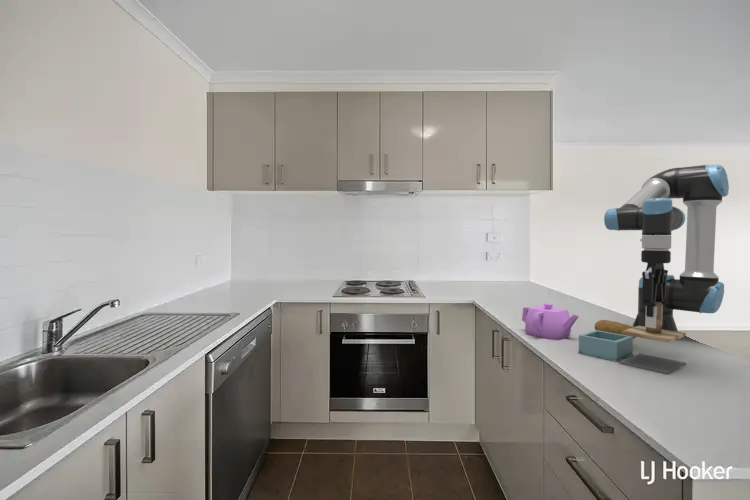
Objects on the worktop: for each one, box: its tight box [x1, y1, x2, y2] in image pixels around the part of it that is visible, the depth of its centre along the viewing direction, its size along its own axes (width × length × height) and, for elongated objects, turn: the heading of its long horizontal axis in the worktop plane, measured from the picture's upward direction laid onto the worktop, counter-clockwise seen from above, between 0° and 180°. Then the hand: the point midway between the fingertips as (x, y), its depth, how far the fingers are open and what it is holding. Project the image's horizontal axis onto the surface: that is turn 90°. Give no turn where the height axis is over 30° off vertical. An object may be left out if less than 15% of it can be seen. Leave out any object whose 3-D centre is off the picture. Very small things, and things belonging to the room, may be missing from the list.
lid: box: [621, 302, 687, 344], centre depth 134 cm, size 13×13×10 cm
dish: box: [578, 329, 634, 362], centre depth 145 cm, size 12×12×6 cm
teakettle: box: [521, 302, 580, 341], centre depth 172 cm, size 17×17×12 cm
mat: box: [619, 352, 687, 375], centre depth 134 cm, size 15×13×1 cm
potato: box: [594, 319, 636, 340], centre depth 159 cm, size 10×14×8 cm
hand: (653, 326), depth 134 cm, fingers closed on lid, 4 cm apart
